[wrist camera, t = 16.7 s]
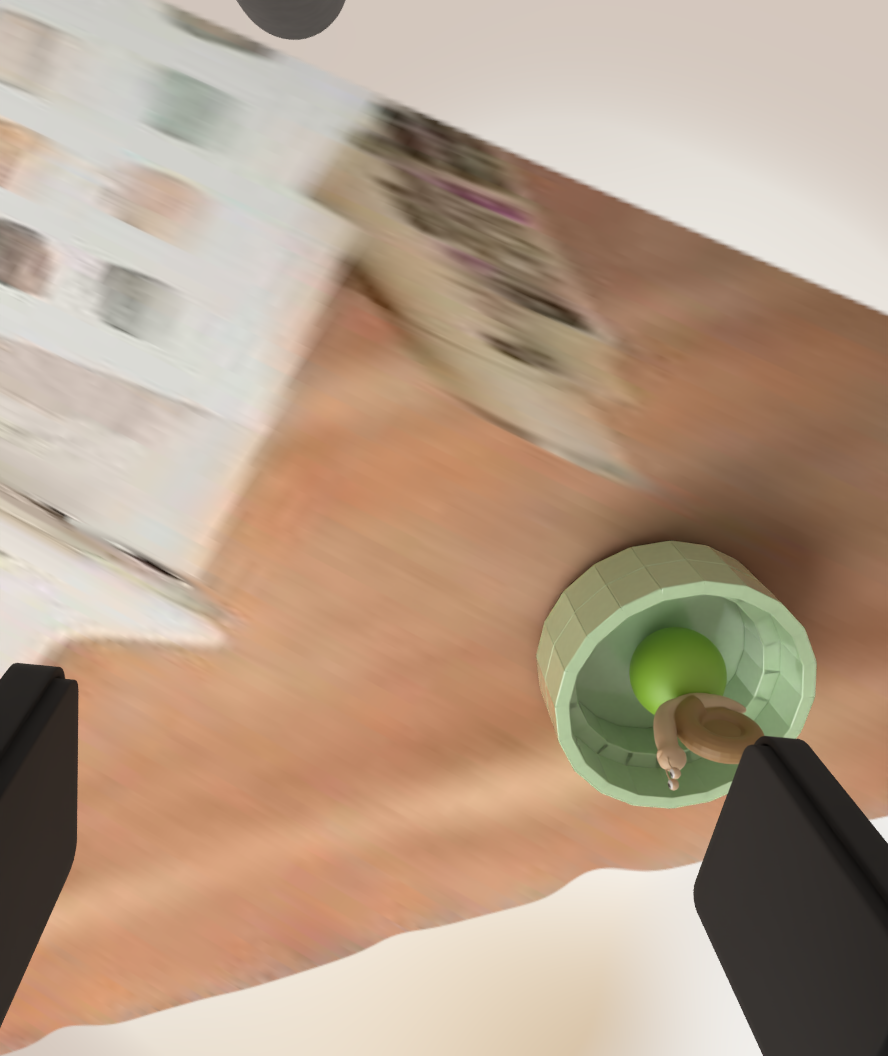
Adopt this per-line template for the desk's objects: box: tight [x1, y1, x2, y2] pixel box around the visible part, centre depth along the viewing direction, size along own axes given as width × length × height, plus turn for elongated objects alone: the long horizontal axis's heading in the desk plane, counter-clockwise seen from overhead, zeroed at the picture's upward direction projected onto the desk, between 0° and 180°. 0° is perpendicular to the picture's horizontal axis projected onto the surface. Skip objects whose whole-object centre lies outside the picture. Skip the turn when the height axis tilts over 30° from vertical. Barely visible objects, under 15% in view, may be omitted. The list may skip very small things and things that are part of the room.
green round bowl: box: [536, 541, 817, 809], centre depth 47 cm, size 15×15×6 cm
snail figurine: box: [629, 627, 764, 790], centre depth 44 cm, size 5×6×12 cm
